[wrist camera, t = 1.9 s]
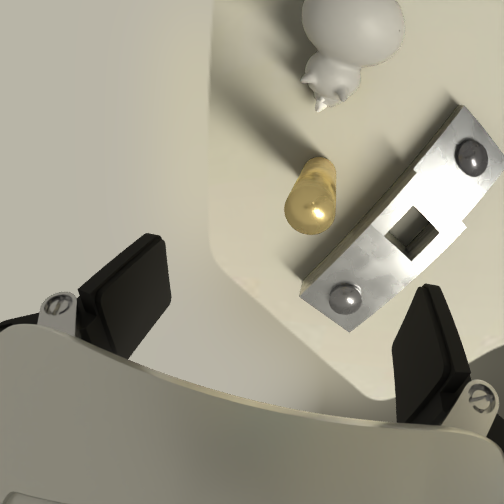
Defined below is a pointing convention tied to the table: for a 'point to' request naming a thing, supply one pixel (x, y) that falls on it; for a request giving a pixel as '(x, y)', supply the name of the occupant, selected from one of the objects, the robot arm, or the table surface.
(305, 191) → the pin
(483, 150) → the grey flat bar
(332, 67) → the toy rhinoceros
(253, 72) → the table surface
